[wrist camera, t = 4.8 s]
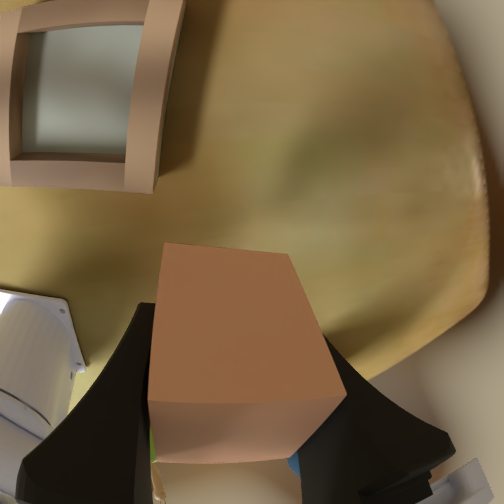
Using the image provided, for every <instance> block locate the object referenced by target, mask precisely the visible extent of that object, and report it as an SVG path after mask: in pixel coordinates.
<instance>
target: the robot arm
mask: <svg viewBox="0 0 504 504" xmlns="http://www.w3.org/2000/svg"><path fill="white" fill-rule="evenodd" d="M155 305H156V304H155V303H144V302H141V303H139V304H138V306H137V309H136V311H135V313H134V316H133V318H132V320H131V322H130V324H129V326H128V328H127V330H126V332H125V334H124V336H123V337H122V339H121V341H120V343H119V344H118V346H117V348H116V350H115V351H114V353H113V355H112V356H111V358H110V359H109V361H108V362H107V364H106V366H105V367H104V369H103V370H102V372H101V373H100V375H99V376H98V378H97V379H96V380H95V382H94V383H93V385H92V386H91V387H90V389H89V390H88V391H87V393H86V394H85V395H84V396H83V398H82V399H81V400H80V401H79V402H78V404H77V405H76V406H75V407H74V409H73V410H72V411H71V412H70V413H69V414H68V409H69V404H70V399H71V394H72V389H73V385H74V380H75V376H76V371H77V372H85V371H86V366H85V363H84V360H83V357H82V354H81V350H80V347H79V344H78V341H77V337H76V334H75V330H74V327H73V323H72V319H71V316H70V312H69V308H68V304H67V302H66V301H65V300H64V299H60V298H53V297H46V296H39V295H33V294H27V293H21V292H15V291H9V290H3V289H0V504H153V500H152V499H153V498H152V484H151V462H150V425H151V422H150V415H149V407H148V384H149V369H150V355H151V344H152V333H153V323H154V314H155ZM323 337H324V339H325V341H326V344H327V346H328V349H329V351H330V353H331V356H332V358H333V361H334V363H335V366H336V368H337V371H338V373H339V375H340V378H341V380H342V383H343V385H344V388H345V390H346V393H347V395H346V397H345V398H344V399H343V400H342V401H341V403H340V404H339V405H338V406H337V407H336V409H335V410H334V411H333V412H332V413H331V414H330V415H329V417H328V418H327V419H326V420H325V421H324V422H323V423H322V424H321V426H320V427H319V428H318V429H317V430H316V431H315V432H314V433H313V434H312V435H311V436H310V437H309V438H308V439H307V440H306V442H305V443H304V444H303V445H302V446H301V447H300V448H299V449H298V450H297V454H298V461H299V468H300V478H301V488H302V504H488V503H489V502H491V501H492V500H493V499H494V495H493V493H492V490H491V488H490V485H489V483H488V481H487V478H486V476H485V474H484V471H483V469H482V467H481V465H480V463H479V460H478V458H474V459H473V460H471V461H470V462H468V463H467V464H465V465H463V466H462V467H460V468H458V469H457V470H455V471H454V472H452V473H450V474H449V475H447V476H446V477H444V478H442V479H440V480H438V481H436V482H435V483H433V484H431V485H430V484H429V482H428V479H430V478H431V477H432V475H431V473H430V470H431V469H433V468H435V467H436V466H438V465H439V464H441V463H442V462H444V461H446V460H447V459H449V458H450V457H451V456H453V455H454V454H455V452H456V450H455V447H454V445H453V443H452V441H451V439H450V437H449V435H448V433H447V432H445V431H443V430H440V429H438V428H436V427H434V426H432V425H430V424H428V423H426V422H424V421H422V420H420V419H418V418H417V417H415V416H413V415H412V414H410V413H408V412H407V411H405V410H404V409H402V408H401V407H399V406H398V405H397V404H395V403H394V402H392V401H391V400H389V399H388V398H387V397H385V396H384V395H383V394H381V393H380V392H379V391H378V390H377V389H376V388H375V387H373V386H372V385H371V384H370V383H369V382H368V381H366V380H365V379H364V378H363V377H362V376H361V375H360V374H359V373H358V372H357V371H356V370H355V369H354V368H353V367H352V366H351V365H350V364H349V363H348V362H347V361H346V360H345V359H344V358H343V357H342V356H341V354H340V353H339V352H338V351H337V350H336V349H335V348H334V347H333V345H332V344H331V343H330V342H329V341H328V340H327V339H326V337H325V336H324V335H323Z"/></svg>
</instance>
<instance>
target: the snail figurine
mask: <svg viewBox="0 0 504 504" xmlns="http://www.w3.org/2000/svg"><path fill="white" fill-rule="evenodd" d="M155 460H157V459H156V454H155V448H154V442H153V436H152V429H151V427H150V462H154V461H155ZM151 484H152V492H153V490H154V497H155V498H156V499H157V500H160V501H162V500H165V497H166V494H165V492H164V490H163V483H162V479H161V476H160V473H159V471H158V469H157V467H156V466H155V465H154V464H152V463H151ZM165 504H166V503H165Z"/></svg>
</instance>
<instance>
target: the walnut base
mask: <svg viewBox="0 0 504 504" xmlns="http://www.w3.org/2000/svg"><path fill="white" fill-rule="evenodd" d="M186 8H187V3H186V0H53V1H47V2H42V3H37V4H33V5H28V6H24V7H20V8H16V9H13V10H9V11H6V12H2V13H1V17H0V186H17V187H48V188H70V189H89V190H105V191H119V192H132V193H145V194H153V191H154V189H155V186H156V183H157V180H158V177H159V167H160V157H161V148H162V140H163V132H164V124H165V117H166V110H167V103H168V97H169V91H170V85H171V79H172V73H173V68H174V62H175V57H176V52H177V47H178V42H179V38H180V33H181V29H182V24H183V20H184V16H185V12H186Z"/></svg>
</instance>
